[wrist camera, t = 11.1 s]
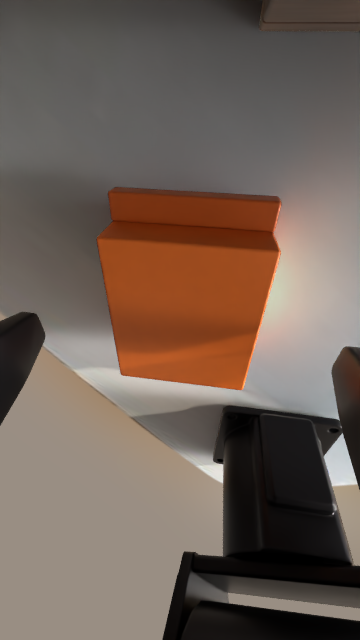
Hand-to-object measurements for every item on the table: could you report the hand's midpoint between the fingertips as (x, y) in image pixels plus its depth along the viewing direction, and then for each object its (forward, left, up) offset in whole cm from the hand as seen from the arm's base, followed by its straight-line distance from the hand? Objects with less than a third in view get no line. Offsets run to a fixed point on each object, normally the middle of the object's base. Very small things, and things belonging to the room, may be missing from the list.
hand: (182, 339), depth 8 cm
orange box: (0, 0, -3) cm, 3 cm away
